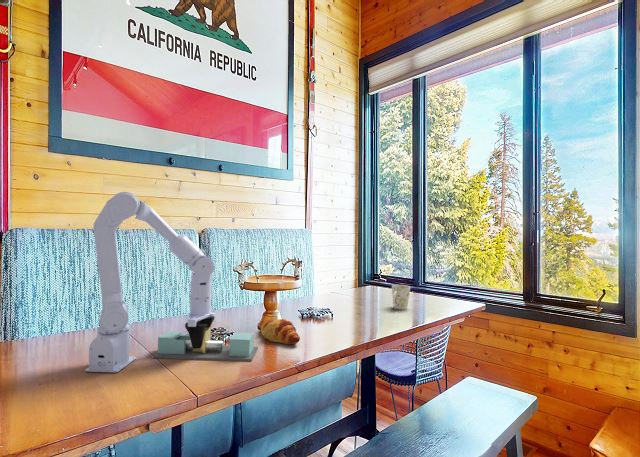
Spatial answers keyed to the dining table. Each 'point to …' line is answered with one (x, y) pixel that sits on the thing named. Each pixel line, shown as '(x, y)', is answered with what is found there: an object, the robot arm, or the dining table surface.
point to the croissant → (280, 331)
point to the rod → (206, 343)
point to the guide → (237, 351)
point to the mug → (400, 296)
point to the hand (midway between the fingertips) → (199, 345)
